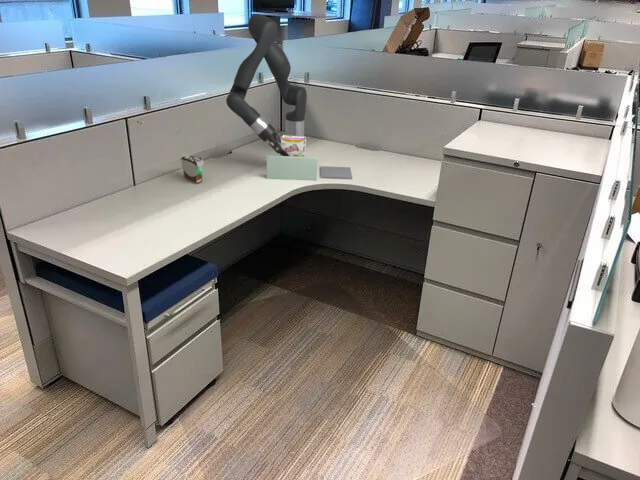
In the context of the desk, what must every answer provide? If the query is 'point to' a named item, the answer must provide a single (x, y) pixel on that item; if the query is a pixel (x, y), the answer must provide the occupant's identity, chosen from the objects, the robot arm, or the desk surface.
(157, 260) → the desk surface
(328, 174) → the mat
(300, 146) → the candy bar box
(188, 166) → the food container
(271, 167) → the screen
